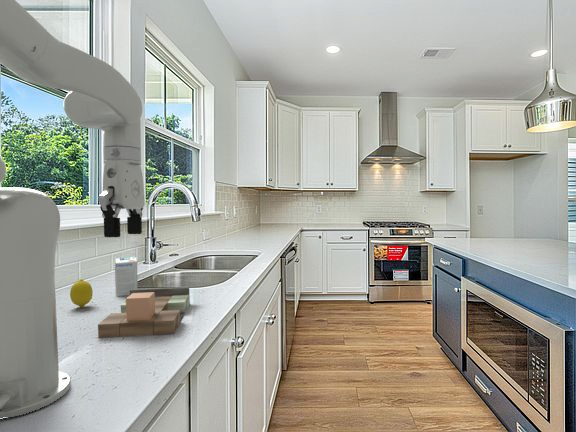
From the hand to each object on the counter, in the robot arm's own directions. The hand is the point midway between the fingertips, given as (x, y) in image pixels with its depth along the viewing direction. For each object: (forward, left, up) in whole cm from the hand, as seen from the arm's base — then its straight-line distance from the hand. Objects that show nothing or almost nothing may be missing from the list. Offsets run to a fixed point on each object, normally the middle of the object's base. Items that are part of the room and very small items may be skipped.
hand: (124, 235), depth 81 cm
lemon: (+25, +20, -22) cm, 39 cm away
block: (+3, -2, -19) cm, 19 cm away
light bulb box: (+42, +13, -22) cm, 49 cm away
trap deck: (+11, -2, -22) cm, 25 cm away
